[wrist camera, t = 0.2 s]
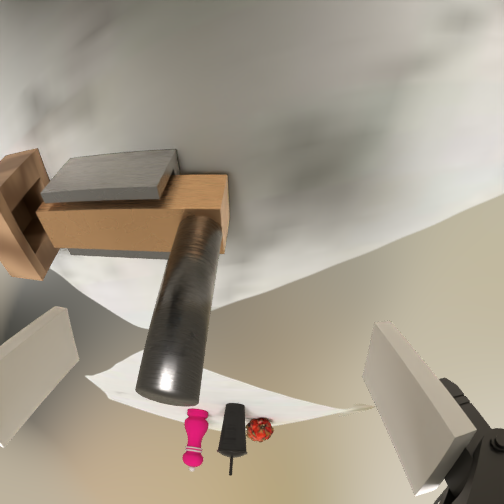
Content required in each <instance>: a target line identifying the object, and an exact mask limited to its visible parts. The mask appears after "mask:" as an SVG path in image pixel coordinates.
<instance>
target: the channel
mask: <svg viewBox="0 0 504 504" xmlns="http://www.w3.org/2000/svg"><path fill="white" fill-rule="evenodd" d="M171 175H180V171H179V165H178V158H177V151H176V149H169V150H151V151H136V152H124V153H113V154H103V155H94V156H86V157H78V158H71V159H69V160H68V161H67V163H66V164H65V165H64V166H63V167H62V168H61V169H60V170H59V172H58V173H57V174H56V175H55V176H54V177H53V178H52V180H51V181H50V182H49V183H48V184H47V186H46V187H45V188H44V189H43V191H42V192H41V193H40V194H41V196H42V198H43V200H44V202H45V203H60V202H78V201H102V200H136V199H160V197H161V195H162V193H163V191H164V188H165V186H166V184H167V182H168V180H169V178H170V176H171ZM68 250H69V252H70V254H71V255H84V256H104V257H125V258H146V259H168V258H169V255H170V252H157V251H131V250H105V249H79V248H68Z"/></svg>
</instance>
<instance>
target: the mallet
mask: <svg viewBox="0 0 504 504" xmlns="http://www.w3.org/2000/svg"><path fill="white" fill-rule="evenodd" d="M36 214H37V216H38V218H39V220H40V222H41V224H42V226H43V228H44V230H45V232H46V233H47V235H48V237H49V239H50V241H51V243H52V244H53V246H54V248H79V249H105V250H131V251H157V252H170V255H169V258H168V262H167V265H166V269H165V272H164V275H163V279H162V282H161V286H160V290H159V293H158V297H157V301H156V304H155V308H154V312H153V316H152V320H151V324H150V328H149V332H148V336H147V340H146V344H145V348H144V353H143V357H142V361H141V366H140V370H139V375H138V380H137V384H136V389H135V390H136V392H137V393H138V394H140V395H141V396H143V397H145V398H148V399H150V400H153V401H156V402H160V403H164V404H169V405H175V406H195V405H197V404H198V403H199V395H200V387H201V379H202V371H203V363H204V356H205V347H206V341H207V332H208V326H209V319H210V312H211V305H212V298H213V292H214V285H215V279H216V272H217V266H218V259H219V254H224V252H225V245H226V239H227V232H228V225H229V219H230V213H229V195H228V177H227V175H171V176H170V178H169V180H168V182H167V184H166V186H165V188H164V191H163V193H162V195H161V197H160V199H136V200H102V201H78V202H60V203H45V202H44V201H43V202H42V204H41V205H40V206H39V208H38V209H37V211H36Z"/></svg>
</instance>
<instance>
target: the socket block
mask: <svg viewBox="0 0 504 504" xmlns="http://www.w3.org/2000/svg"><path fill="white" fill-rule="evenodd" d="M49 182H50V180H49V178H48V175H47V173H46V170H45V168H44V165H43V162H42V159H41V157H40V154H39V151H38V148H36V149H32V150H27V151H23V152H19V153H15V154H11V155H7V156H5V157H4V158H3V159H2V160H1V161H0V261H1V263H2V264H3V265H4V267H5V268H6V270H7V271H8V272H9V274H10V275H11V276H12V277H19V278H26V279H33V280H41V281H43V279H44V277H45V275H46V273H47V271H48V270H49V268H50V266H51V264H52V262H53V260H54V258H55V256H56V255H57V253H58V251H59V249H60V248H54V246H53V244H52V243H51V241H50V239H49V237H48V235H47V233H46V232H45V230H44V228H43V226H42V224H41V222H40V220H39V218H38V216H37V214H36V211H37V209H38V208H39V206H40V205H41V204H42V202H43V201H44V200H43V198H42V196H41V194H40V193H41V192H42V191H43V189H44V188H45V187H46V186H47V184H48V183H49Z"/></svg>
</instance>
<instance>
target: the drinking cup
mask: <svg viewBox="0 0 504 504" xmlns="http://www.w3.org/2000/svg"><path fill="white" fill-rule="evenodd" d="M217 452H219V453H221V454H222V455H224V456H227V457H230V471H229V475H232V465H233V457H240V456H243V455H245V454H247V452H246V435H245V410H244V405H242V404H236V403H229V404H226V409H225V414H224V420H223V426H222V431H221V437H220V442H219V448H218V450H217Z"/></svg>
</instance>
